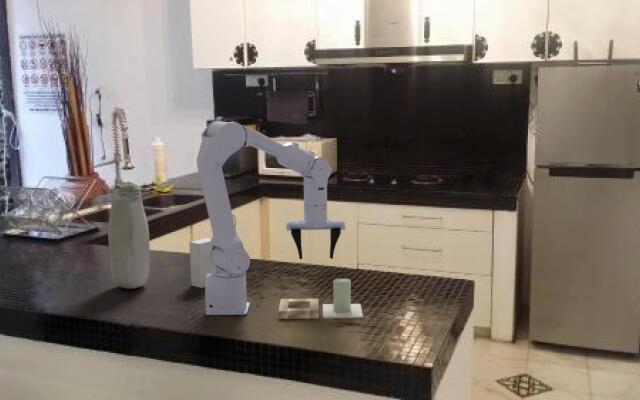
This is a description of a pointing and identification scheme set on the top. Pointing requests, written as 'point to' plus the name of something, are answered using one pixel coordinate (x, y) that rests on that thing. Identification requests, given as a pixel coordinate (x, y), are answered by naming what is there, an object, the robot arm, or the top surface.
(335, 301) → the sage peg
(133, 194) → the pale grey-green bottle
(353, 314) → the pad
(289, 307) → the pocket holder
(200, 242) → the skincare box
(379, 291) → the top surface
